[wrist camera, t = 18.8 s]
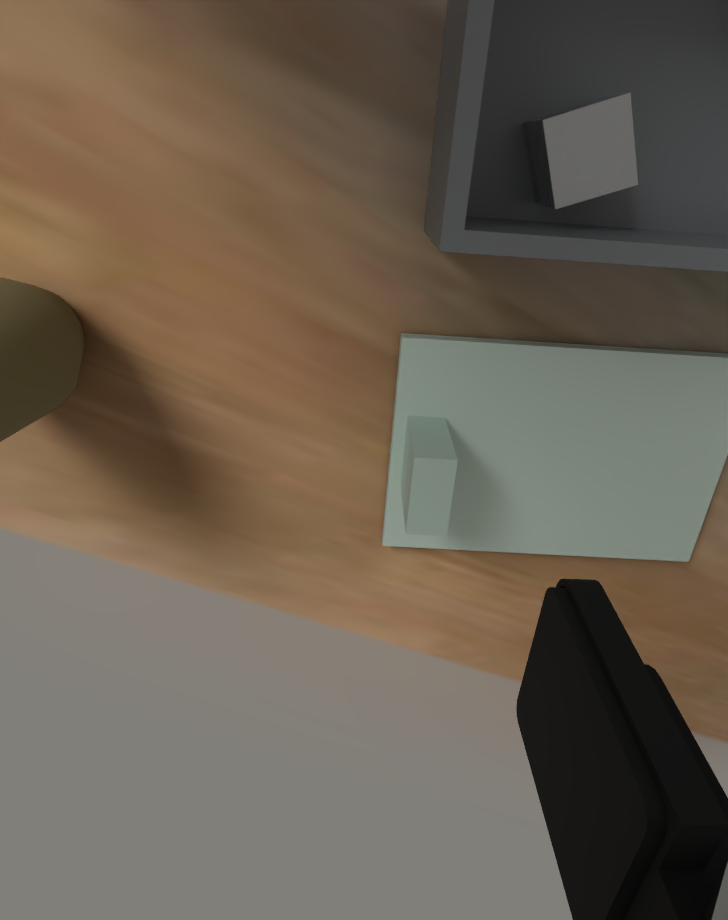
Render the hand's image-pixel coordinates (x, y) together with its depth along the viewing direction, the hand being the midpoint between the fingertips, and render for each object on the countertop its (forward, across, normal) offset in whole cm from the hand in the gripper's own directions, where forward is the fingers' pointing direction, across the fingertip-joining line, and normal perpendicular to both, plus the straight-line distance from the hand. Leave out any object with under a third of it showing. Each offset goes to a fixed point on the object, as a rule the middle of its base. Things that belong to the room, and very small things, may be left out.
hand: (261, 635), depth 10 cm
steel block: (+29, -13, -7) cm, 32 cm away
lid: (+30, -16, +11) cm, 36 cm away
